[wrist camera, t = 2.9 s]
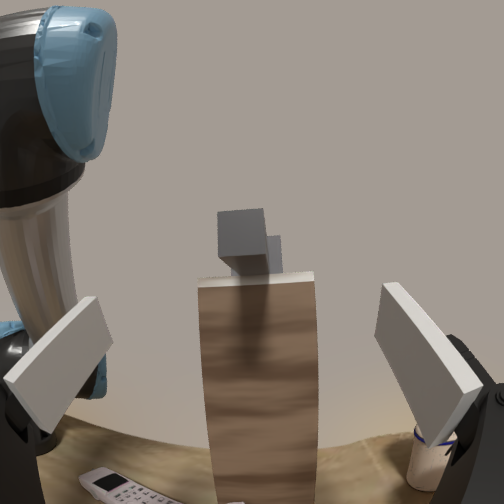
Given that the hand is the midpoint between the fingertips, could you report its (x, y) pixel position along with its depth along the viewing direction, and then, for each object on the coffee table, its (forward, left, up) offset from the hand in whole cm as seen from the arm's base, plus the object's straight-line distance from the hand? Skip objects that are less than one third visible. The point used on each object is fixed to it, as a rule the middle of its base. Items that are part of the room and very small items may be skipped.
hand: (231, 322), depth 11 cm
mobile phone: (-18, +3, -27) cm, 32 cm away
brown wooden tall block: (-11, +18, -26) cm, 34 cm away
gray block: (-8, +14, +4) cm, 16 cm away
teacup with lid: (+11, +26, -26) cm, 39 cm away
